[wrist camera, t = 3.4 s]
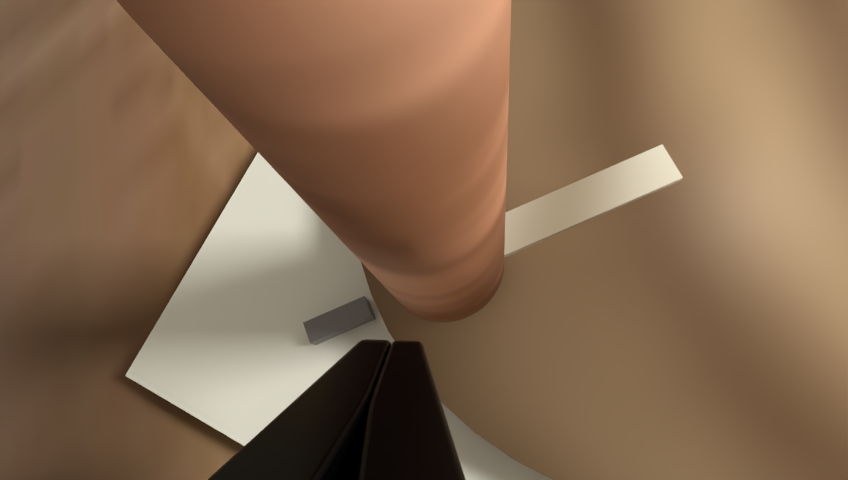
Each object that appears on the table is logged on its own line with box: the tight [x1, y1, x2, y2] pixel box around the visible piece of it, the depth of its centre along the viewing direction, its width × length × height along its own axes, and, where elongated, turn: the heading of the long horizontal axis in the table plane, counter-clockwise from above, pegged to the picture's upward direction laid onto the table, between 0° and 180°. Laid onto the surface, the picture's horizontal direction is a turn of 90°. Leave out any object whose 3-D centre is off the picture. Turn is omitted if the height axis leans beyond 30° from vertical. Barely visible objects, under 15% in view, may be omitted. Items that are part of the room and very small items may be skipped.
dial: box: [117, 0, 848, 480], centre depth 10 cm, size 16×16×12 cm
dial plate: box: [125, 153, 552, 480], centre depth 16 cm, size 22×22×1 cm
